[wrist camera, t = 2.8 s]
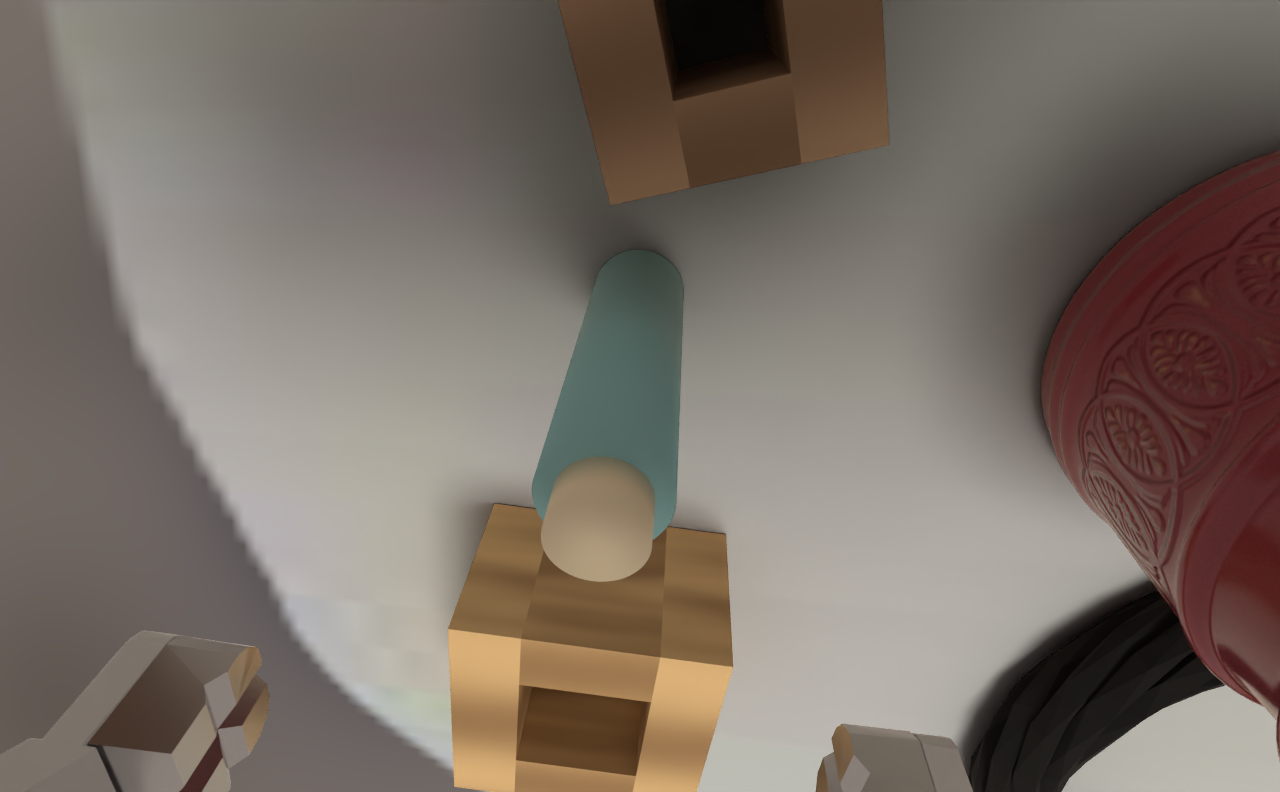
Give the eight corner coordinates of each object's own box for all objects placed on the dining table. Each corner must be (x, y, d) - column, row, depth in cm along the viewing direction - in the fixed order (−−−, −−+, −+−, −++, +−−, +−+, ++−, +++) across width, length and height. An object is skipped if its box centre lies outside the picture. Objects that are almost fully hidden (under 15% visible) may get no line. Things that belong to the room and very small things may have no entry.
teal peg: (598, 243, 21) (520, 469, 12) (690, 256, 21) (685, 491, 12) (591, 326, 23) (516, 585, 13) (676, 338, 23) (663, 605, 13)
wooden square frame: (494, 503, 27) (447, 628, 22) (725, 534, 27) (733, 667, 22) (492, 654, 32) (454, 786, 27) (689, 680, 32) (688, 817, 27)
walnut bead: (569, -99, 17) (527, -119, 13) (823, -175, 16) (870, -225, 12) (628, 153, 20) (610, 205, 16) (845, 104, 19) (889, 144, 15)
